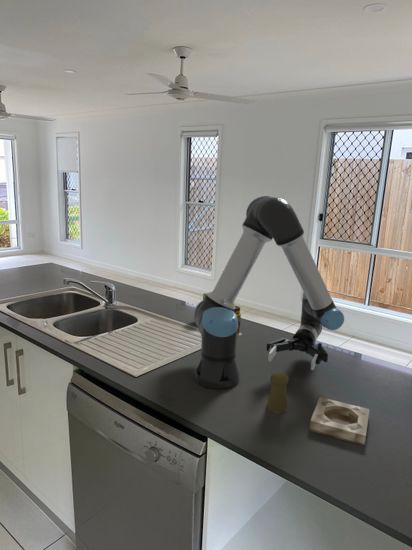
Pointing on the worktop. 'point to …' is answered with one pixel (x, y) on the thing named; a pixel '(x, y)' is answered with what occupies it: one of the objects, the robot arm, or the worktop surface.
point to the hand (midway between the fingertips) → (290, 361)
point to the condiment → (237, 312)
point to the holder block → (340, 421)
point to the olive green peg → (278, 393)
